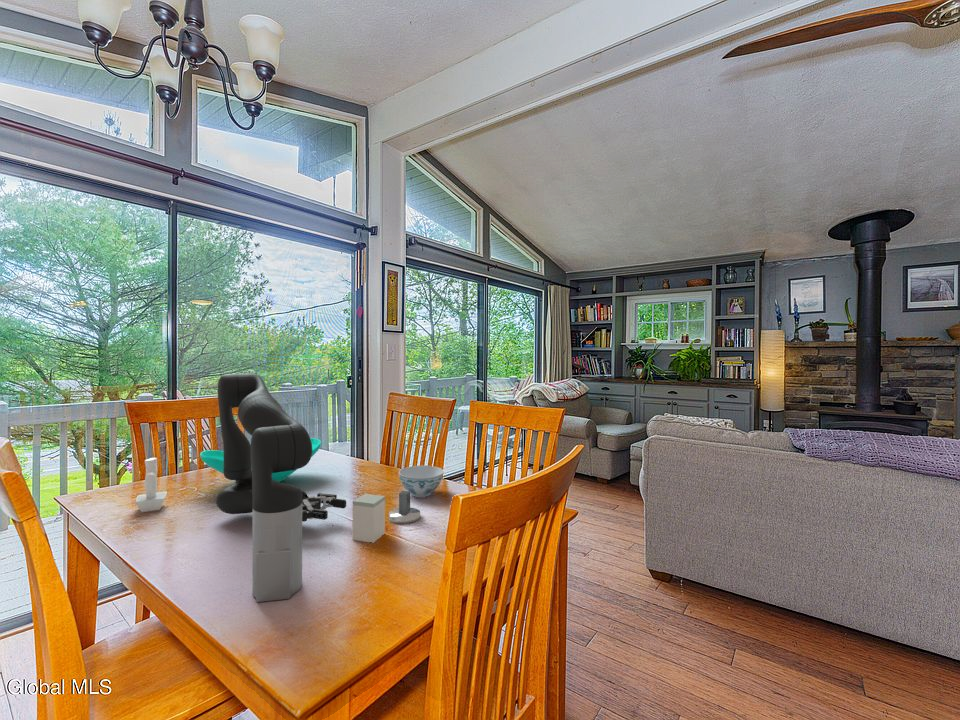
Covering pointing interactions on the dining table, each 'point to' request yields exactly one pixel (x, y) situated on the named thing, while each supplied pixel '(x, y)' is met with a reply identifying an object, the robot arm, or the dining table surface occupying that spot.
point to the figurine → (150, 489)
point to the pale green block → (368, 518)
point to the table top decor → (217, 459)
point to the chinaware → (421, 479)
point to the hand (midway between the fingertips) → (336, 509)
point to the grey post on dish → (404, 510)
